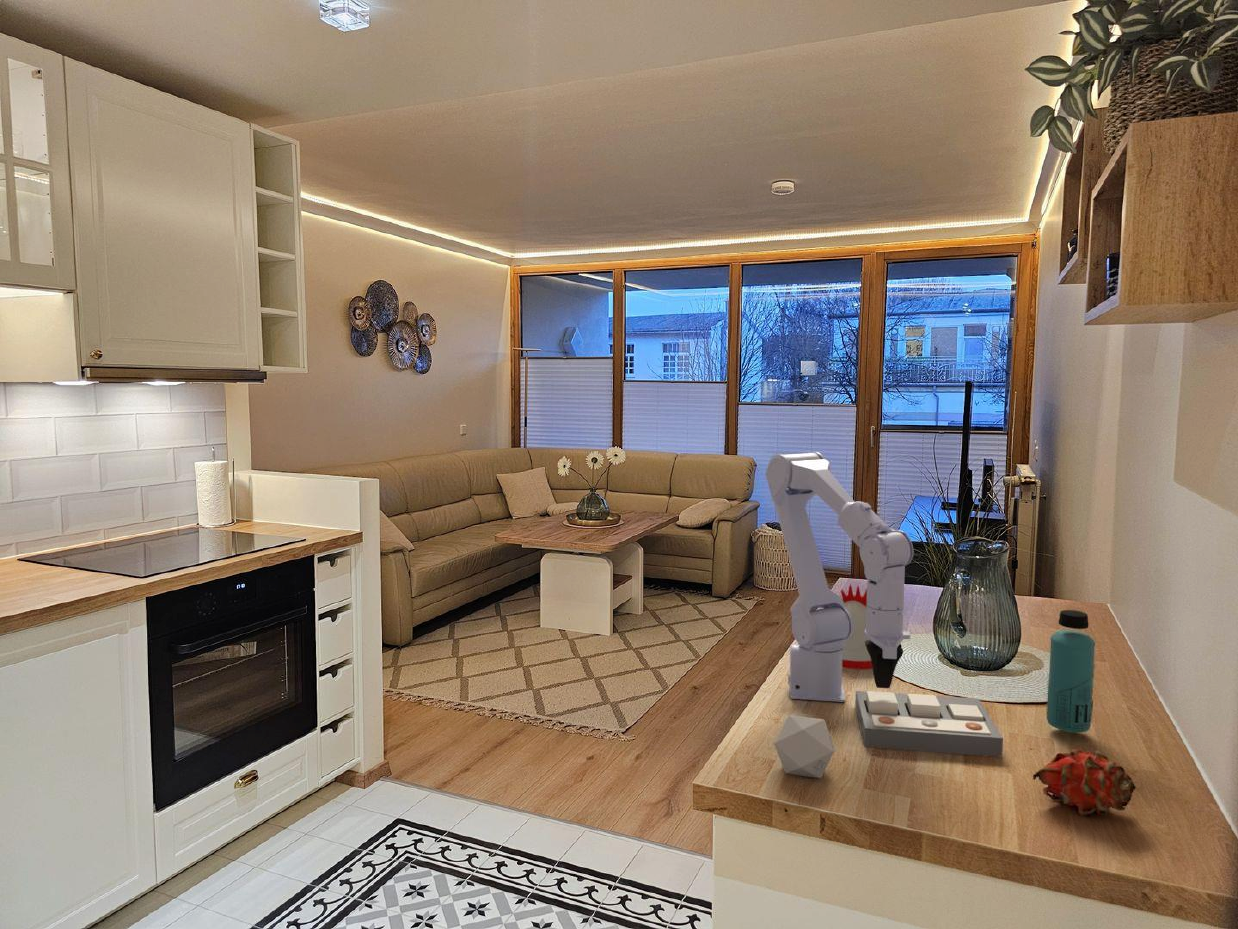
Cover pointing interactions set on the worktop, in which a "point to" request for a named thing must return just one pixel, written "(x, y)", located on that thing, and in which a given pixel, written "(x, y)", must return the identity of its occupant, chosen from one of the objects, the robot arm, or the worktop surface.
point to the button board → (929, 729)
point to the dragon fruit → (1086, 782)
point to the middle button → (923, 705)
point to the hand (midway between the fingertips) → (882, 686)
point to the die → (804, 746)
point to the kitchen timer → (856, 632)
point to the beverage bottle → (1071, 675)
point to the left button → (882, 703)
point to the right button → (965, 712)
